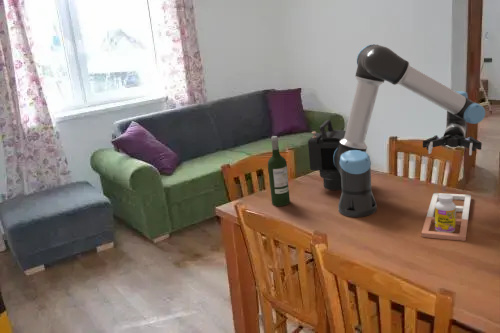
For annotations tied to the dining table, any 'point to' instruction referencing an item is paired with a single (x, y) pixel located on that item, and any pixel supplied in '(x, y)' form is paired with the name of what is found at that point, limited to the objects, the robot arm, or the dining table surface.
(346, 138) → the robot arm
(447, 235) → the rack
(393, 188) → the dining table surface
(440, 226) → the supplement bottle
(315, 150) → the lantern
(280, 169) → the wine bottle
